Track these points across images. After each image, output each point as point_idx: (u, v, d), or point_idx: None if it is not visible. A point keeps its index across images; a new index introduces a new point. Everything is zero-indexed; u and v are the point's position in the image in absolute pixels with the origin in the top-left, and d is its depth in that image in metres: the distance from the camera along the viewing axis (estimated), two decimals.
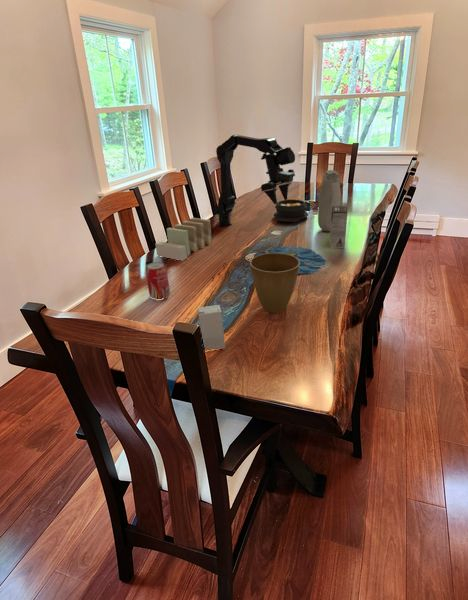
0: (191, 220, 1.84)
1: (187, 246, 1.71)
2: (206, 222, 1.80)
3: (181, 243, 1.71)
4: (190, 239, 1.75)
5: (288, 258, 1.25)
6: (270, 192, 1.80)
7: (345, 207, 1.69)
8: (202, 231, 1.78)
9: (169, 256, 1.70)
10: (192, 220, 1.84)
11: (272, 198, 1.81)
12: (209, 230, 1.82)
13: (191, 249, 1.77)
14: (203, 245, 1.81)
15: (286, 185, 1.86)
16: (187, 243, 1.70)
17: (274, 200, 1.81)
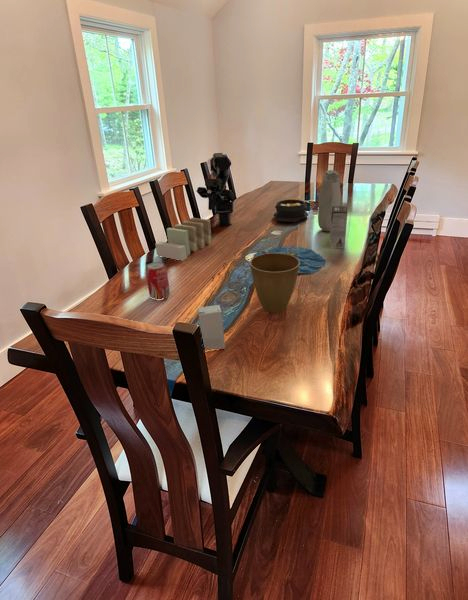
0: (191, 220, 1.84)
1: (187, 246, 1.71)
2: (206, 222, 1.80)
3: (181, 243, 1.71)
4: (190, 239, 1.75)
5: (289, 258, 1.25)
6: None
7: (345, 207, 1.69)
8: (202, 231, 1.78)
9: (169, 256, 1.70)
10: (192, 220, 1.84)
11: None
12: (209, 230, 1.82)
13: (191, 249, 1.77)
14: (203, 245, 1.81)
15: None
16: (187, 243, 1.70)
17: None
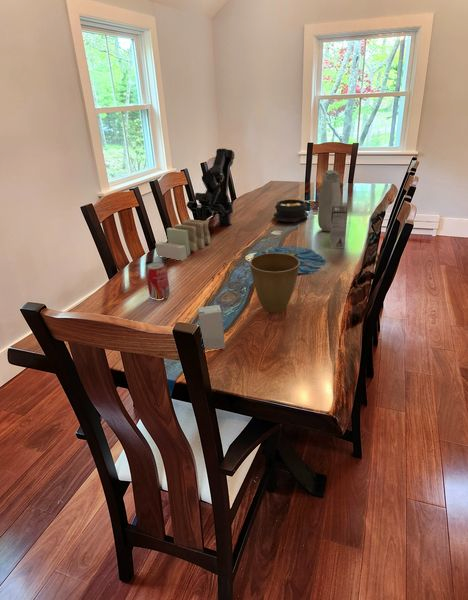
0: None
1: (187, 246, 1.71)
2: (203, 224, 1.78)
3: (181, 243, 1.71)
4: (190, 239, 1.75)
5: (288, 258, 1.25)
6: None
7: (345, 207, 1.69)
8: (202, 231, 1.78)
9: (169, 256, 1.70)
10: None
11: None
12: (207, 231, 1.81)
13: (191, 249, 1.77)
14: (203, 245, 1.81)
15: None
16: (187, 243, 1.70)
17: None
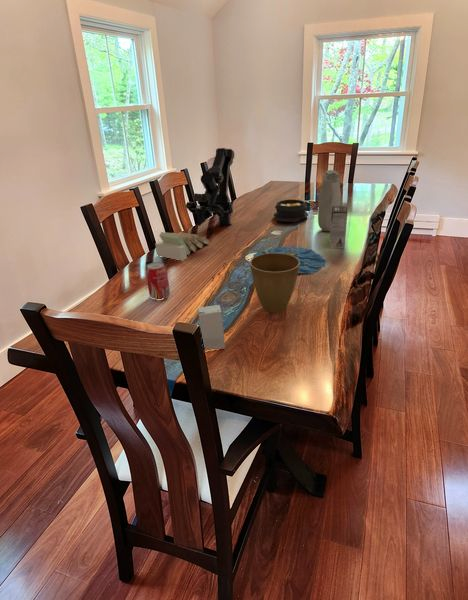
0: None
1: None
2: None
3: None
4: None
5: (289, 258, 1.25)
6: None
7: (345, 207, 1.69)
8: (193, 240, 1.74)
9: (169, 256, 1.70)
10: None
11: None
12: (202, 239, 1.79)
13: (190, 250, 1.76)
14: (201, 245, 1.79)
15: None
16: (184, 245, 1.69)
17: None
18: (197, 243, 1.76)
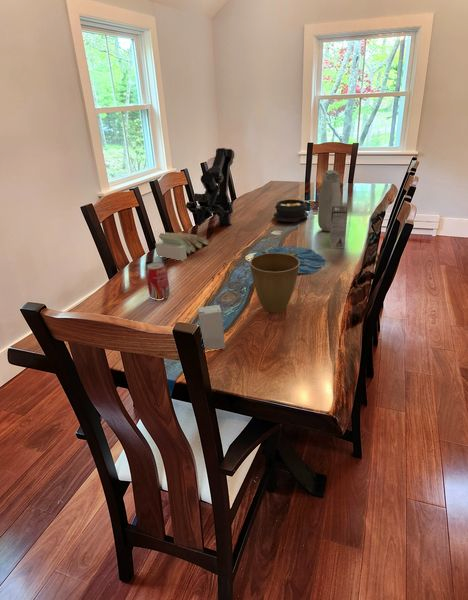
0: None
1: None
2: None
3: None
4: None
5: (288, 258, 1.25)
6: None
7: (345, 207, 1.69)
8: (193, 240, 1.73)
9: (169, 256, 1.70)
10: None
11: None
12: (201, 239, 1.78)
13: None
14: (200, 245, 1.79)
15: None
16: (184, 245, 1.69)
17: None
18: (196, 243, 1.76)
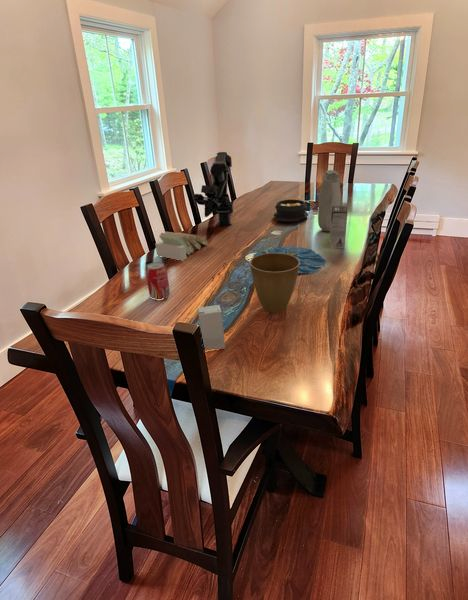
0: None
1: None
2: None
3: None
4: None
5: (288, 258, 1.25)
6: None
7: (345, 207, 1.69)
8: (192, 240, 1.73)
9: (169, 256, 1.70)
10: None
11: None
12: (200, 239, 1.78)
13: None
14: (199, 246, 1.78)
15: None
16: None
17: None
18: (195, 244, 1.75)
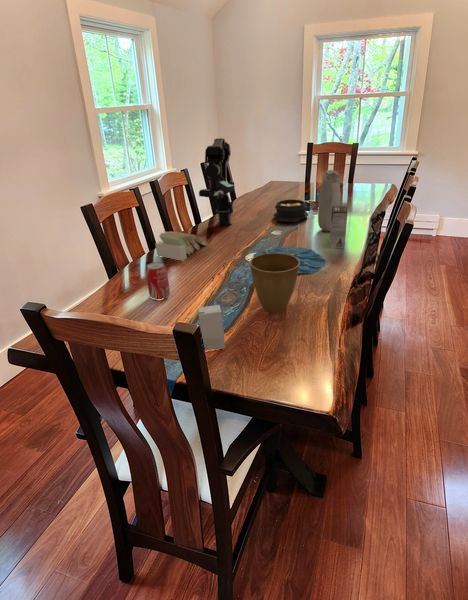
0: None
1: None
2: None
3: None
4: None
5: (288, 258, 1.25)
6: (213, 197, 1.86)
7: (345, 207, 1.69)
8: (191, 239, 1.72)
9: (169, 256, 1.70)
10: None
11: (214, 203, 1.88)
12: (199, 240, 1.77)
13: None
14: (198, 246, 1.78)
15: (220, 195, 1.86)
16: None
17: (216, 205, 1.88)
18: (194, 244, 1.75)
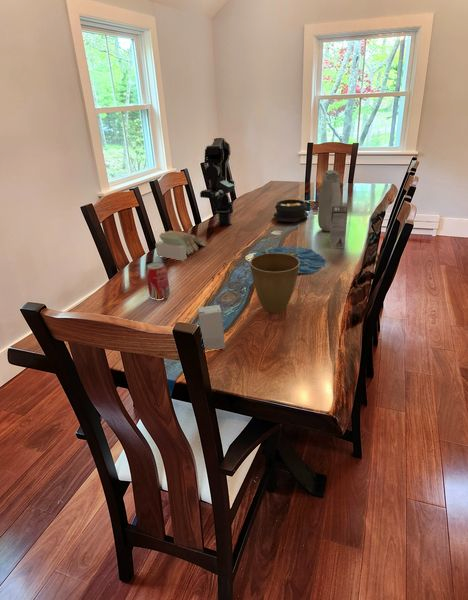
0: None
1: None
2: None
3: None
4: None
5: (289, 258, 1.25)
6: (214, 197, 1.86)
7: (345, 207, 1.69)
8: (190, 239, 1.71)
9: (169, 256, 1.70)
10: None
11: (215, 203, 1.88)
12: (198, 240, 1.77)
13: None
14: (196, 247, 1.77)
15: (220, 195, 1.86)
16: None
17: (216, 205, 1.88)
18: (193, 244, 1.74)
